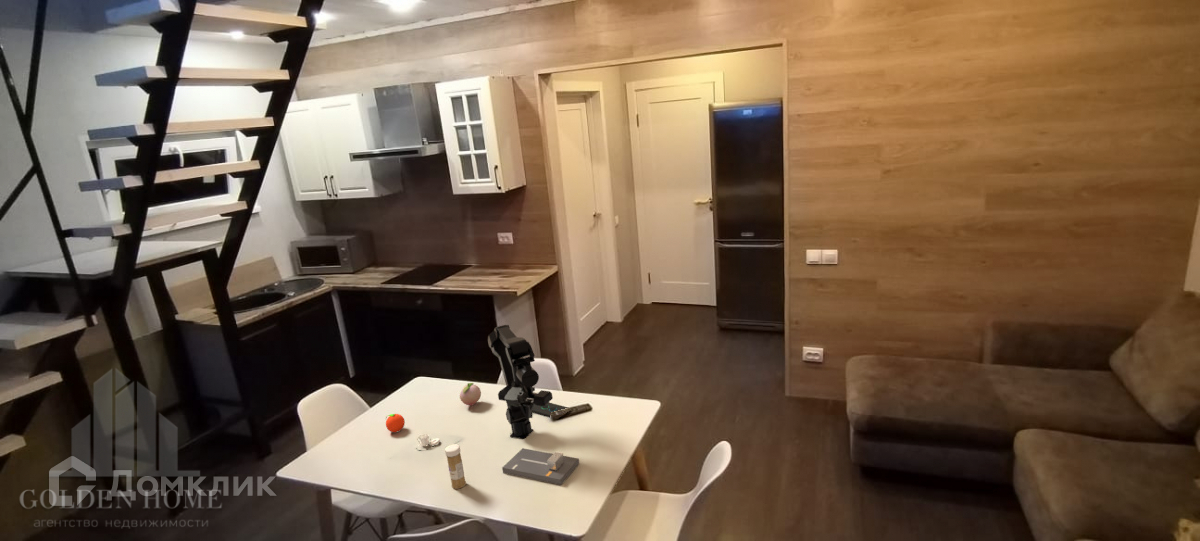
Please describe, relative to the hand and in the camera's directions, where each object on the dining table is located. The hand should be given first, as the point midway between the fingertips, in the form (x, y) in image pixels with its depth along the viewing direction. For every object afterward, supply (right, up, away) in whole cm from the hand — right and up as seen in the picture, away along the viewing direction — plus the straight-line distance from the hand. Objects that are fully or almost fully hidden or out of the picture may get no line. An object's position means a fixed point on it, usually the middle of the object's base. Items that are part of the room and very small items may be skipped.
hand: (528, 418), depth 198 cm
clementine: (-55, -12, +27) cm, 62 cm away
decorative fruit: (-28, -5, +42) cm, 51 cm away
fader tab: (+11, -12, -12) cm, 20 cm away
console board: (+5, -14, -9) cm, 17 cm away
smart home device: (+3, -5, +31) cm, 32 cm away
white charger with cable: (-38, -14, +12) cm, 42 cm away
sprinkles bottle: (-20, -18, -13) cm, 30 cm away
